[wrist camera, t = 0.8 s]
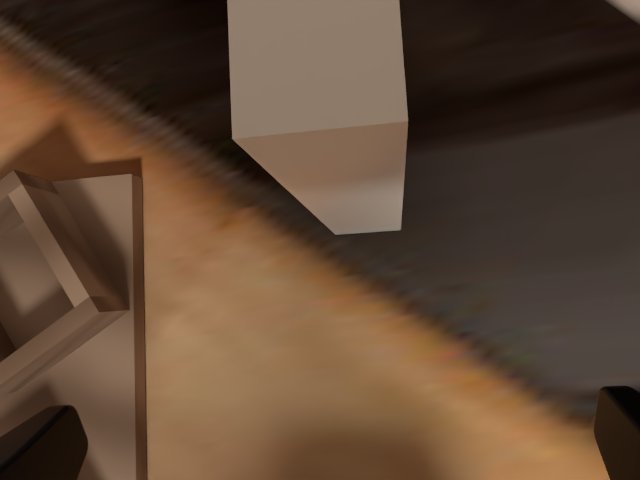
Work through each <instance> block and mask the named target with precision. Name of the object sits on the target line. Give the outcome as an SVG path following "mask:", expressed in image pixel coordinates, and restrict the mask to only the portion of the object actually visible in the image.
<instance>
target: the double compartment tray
mask: <svg viewBox="0 0 640 480" xmlns="http://www.w3.org/2000/svg"><path fill="white" fill-rule="evenodd" d="M52 405H72V406H74V407H75V408H76V410H77V412H78V414H79V417H80V419H81V422H82V425H83V427H84V430H85V432H86V435H87V438H88V450H87V454H86V457H85V460H84V462H83V465H82V468H81V471H80V473H79V476H78V479H77V480H147V447H146V386H145V325H144V264H143V203H142V178H140V177H138V176H136V175H134V174H124V175H113V176H102V177H92V178H81V179H71V180H60V181H47V180H44V179H41V178H38V177H35V176H31V175H28V174H25V173H22V172H19V171H16V170H13V171H11V172H10V173H9V174H7V175H6V176H5V177H4V178H2V179H1V180H0V437H1V436H2V435H4V434H5V433H7V432H8V431H10V430H12V429H13V428H15V427H16V426H18V425H20V424H21V423H23V422H24V421H26V420H27V419H29V418H31V417H32V416H34V415H35V414H37V413H38V412H40V411H42V410H43V409H45V408H46V407H48V406H52Z"/></svg>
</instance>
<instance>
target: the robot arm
mask: <svg viewBox="0 0 640 480" xmlns="http://www.w3.org/2000/svg"><path fill="white" fill-rule="evenodd" d="M594 435H595V439H596V442H597V445H598V448H599V450H600V453H601V456H602V459H603V461H604V464H605V467H606V470H607V472H608V475H609V478H610V480H640V392H638V391H636V390H635V389H633V388H631V387H629V386H605V387H603V388H601V389H600V391H599V393H598V399H597V406H596V413H595V420H594ZM87 450H88V438H87V435H86V432H85V430H84V427H83V425H82V422H81V419H80V417H79V414H78V412H77V410H76V408H75V407H74V406H72V405H52V406H48V407H46V408H45V409H43V410H42V411H40V412H38V413H37V414H35V415H34V416H32V417H31V418H29V419H27V420H26V421H24V422H23V423H21V424H20V425H18V426H16V427H15V428H13V429H12V430H10V431H8V432H7V433H5V434H4V435H2V436H1V437H0V480H77V479H78V476H79V473H80V471H81V468H82V465H83V462H84V460H85V457H86V454H87Z"/></svg>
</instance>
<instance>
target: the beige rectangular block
mask: <svg viewBox="0 0 640 480" xmlns="http://www.w3.org/2000/svg"><path fill="white" fill-rule="evenodd" d="M227 5H228V33H229V61H230V89H231V117H232V139H233V140H234V141H235V142H236V143H237V144H238V145H239V146H240V147H241V148H243V149H244V150H245V151H246V152H247V153H248V154H249V155H250V156H251V157H252V158H253V159H254V160H255V161H257V162H258V163H259V164H260V165H261V166H262V167H263V168H264V169H265V170H266V171H267V172H268V173H269V174H271V175H272V176H273V177H274V178H275V179H276V180H277V181H278V182H279V183H280V184H281V185H282V186H283V187H285V188H286V189H287V190H288V191H289V192H290V193H291V194H292V195H293V196H294V197H295V198H296V199H298V200H299V201H300V202H301V203H302V204H303V205H304V206H305V207H306V208H307V209H308V210H309V211H310V212H312V213H313V214H314V215H315V216H316V217H317V218H318V219H319V220H320V221H321V222H322V223H323V224H324V225H326V226H327V227H328V228H329V229H330V230H331V231H332V232H333V233H334V234H335V235H339V234H353V233H367V232H381V231H395V230H401V219H402V204H403V190H404V175H405V160H406V145H407V130H408V113H407V100H406V86H405V73H404V60H403V47H402V33H401V20H400V7H399V0H227Z"/></svg>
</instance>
